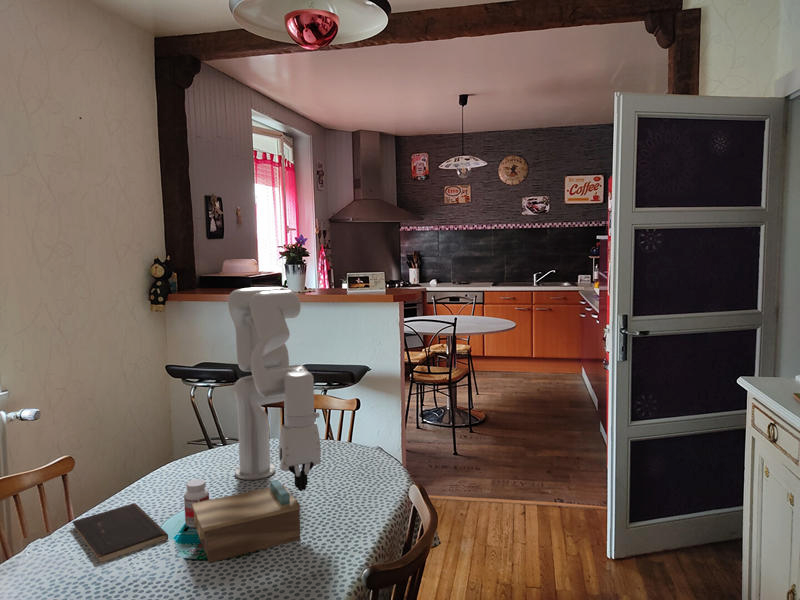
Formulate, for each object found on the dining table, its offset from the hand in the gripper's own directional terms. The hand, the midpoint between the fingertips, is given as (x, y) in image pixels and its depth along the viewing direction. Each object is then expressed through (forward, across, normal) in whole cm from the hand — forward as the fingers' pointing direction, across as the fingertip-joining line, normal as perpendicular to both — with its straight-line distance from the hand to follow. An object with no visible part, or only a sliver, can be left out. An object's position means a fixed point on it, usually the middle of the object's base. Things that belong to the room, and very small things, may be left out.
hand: (301, 488), depth 149 cm
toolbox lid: (+5, +14, 0) cm, 15 cm away
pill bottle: (+10, +24, -15) cm, 30 cm away
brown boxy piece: (+10, +14, 0) cm, 17 cm away
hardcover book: (+11, +42, -19) cm, 47 cm away
